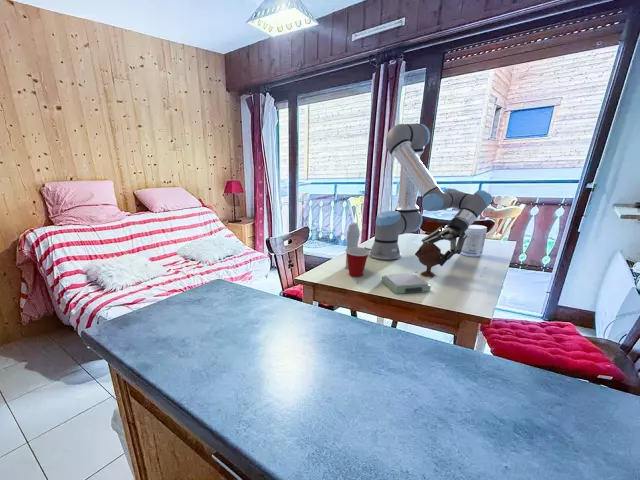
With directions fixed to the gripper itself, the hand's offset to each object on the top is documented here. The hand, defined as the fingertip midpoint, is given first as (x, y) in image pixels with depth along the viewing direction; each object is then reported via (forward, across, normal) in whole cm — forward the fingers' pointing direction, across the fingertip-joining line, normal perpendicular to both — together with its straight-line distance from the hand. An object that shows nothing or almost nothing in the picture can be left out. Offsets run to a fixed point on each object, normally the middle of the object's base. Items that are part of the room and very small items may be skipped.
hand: (427, 259), depth 144 cm
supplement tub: (-24, +15, -35) cm, 45 cm away
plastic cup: (+24, +13, +14) cm, 31 cm away
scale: (+17, -7, +7) cm, 19 cm away
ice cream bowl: (+4, 0, -6) cm, 8 cm away
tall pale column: (+21, +25, +11) cm, 35 cm away
